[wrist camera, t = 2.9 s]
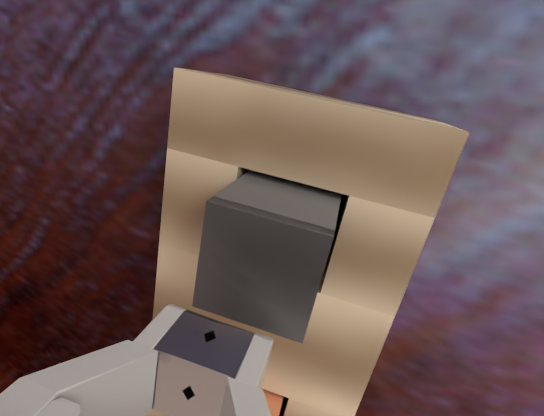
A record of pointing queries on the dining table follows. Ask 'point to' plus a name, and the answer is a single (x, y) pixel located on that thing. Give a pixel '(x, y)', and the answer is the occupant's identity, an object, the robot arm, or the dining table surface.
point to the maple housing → (349, 228)
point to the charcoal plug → (265, 252)
